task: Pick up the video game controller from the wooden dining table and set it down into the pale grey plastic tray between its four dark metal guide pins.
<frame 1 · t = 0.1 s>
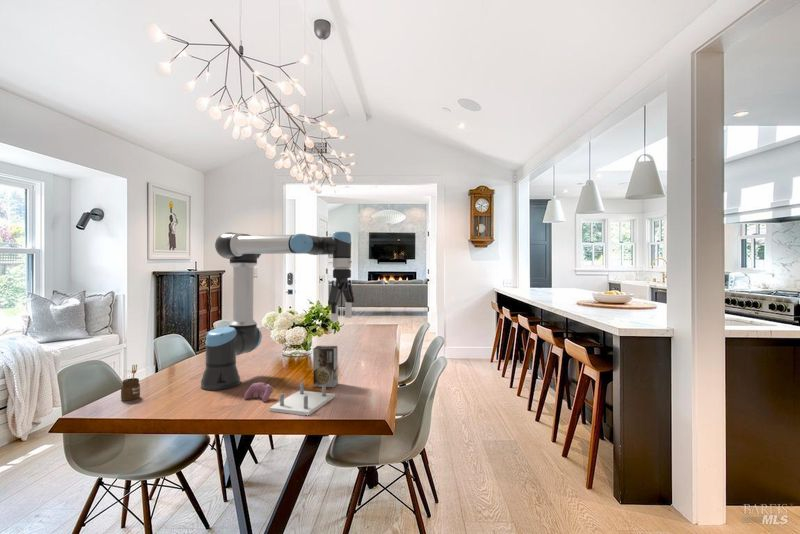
hand: (341, 319, 163), 28 cm above the table, tool pointing down, fingers open, 13 cm apart
utensil holder: (130, 398, 147), on the table
video game controller: (258, 399, 147), on the table
pin tray: (303, 403, 142), on the table
coffee box: (325, 385, 165), on the table
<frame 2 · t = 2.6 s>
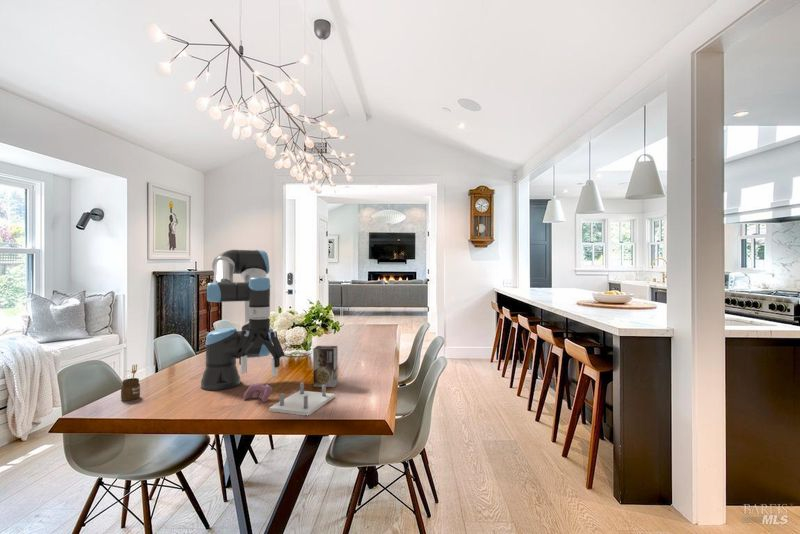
hand: (259, 374, 147), 9 cm above the table, tool pointing down, fingers open, 13 cm apart
nothing on the table moved.
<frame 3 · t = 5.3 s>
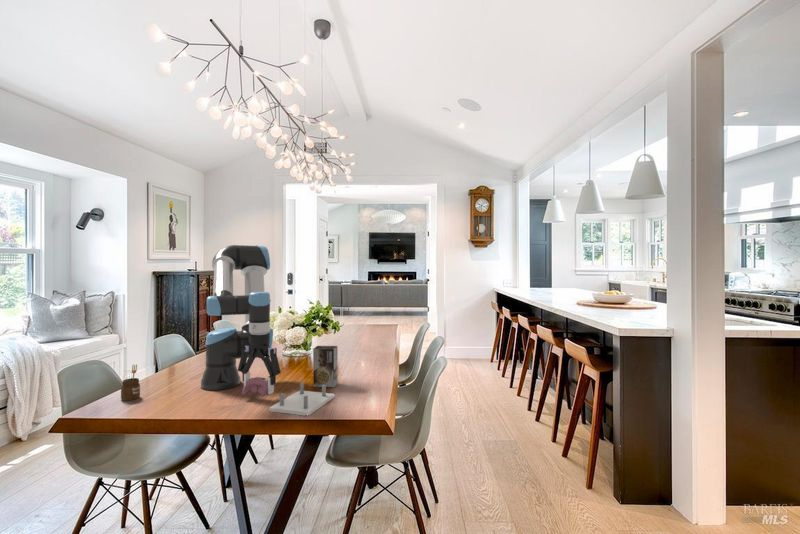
hand: (258, 391, 148), 2 cm above the table, tool pointing down, fingers closed on video game controller, 10 cm apart
video game controller: (256, 394, 147), point 2 cm above the table, touching gripper
everything else where it was.
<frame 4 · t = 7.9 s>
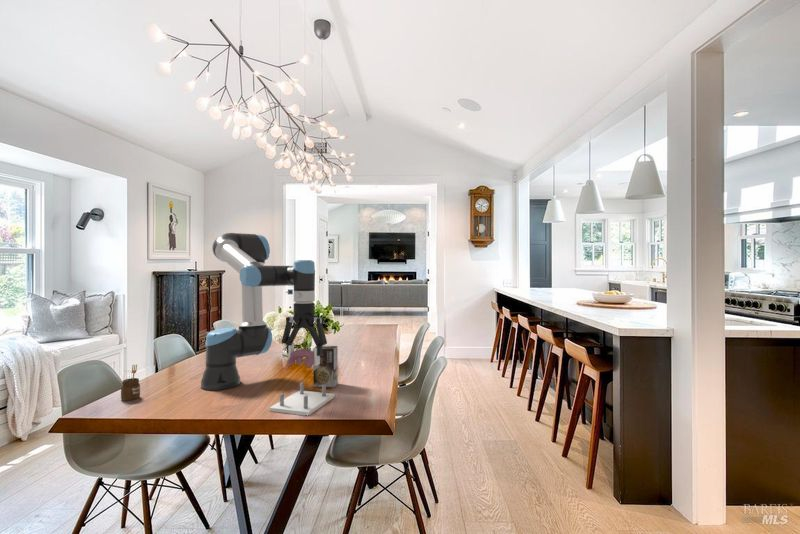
hand: (304, 363, 142), 15 cm above the table, tool pointing down, fingers closed on video game controller, 10 cm apart
video game controller: (302, 365, 141), point 14 cm above the table, touching gripper
everything else where it was.
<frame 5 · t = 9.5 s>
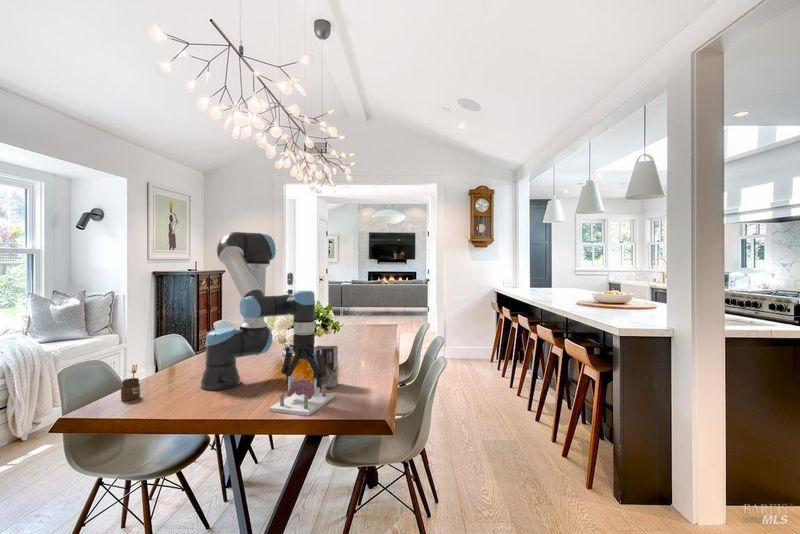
hand: (303, 394, 142), 3 cm above the table, tool pointing down, fingers closed on video game controller, 10 cm apart
video game controller: (302, 397, 141), point 3 cm above the table, touching gripper
everything else where it was.
when the fingers open (2 cm above the table, at t = 10.6 s): video game controller stays where it is, resting on pin tray.
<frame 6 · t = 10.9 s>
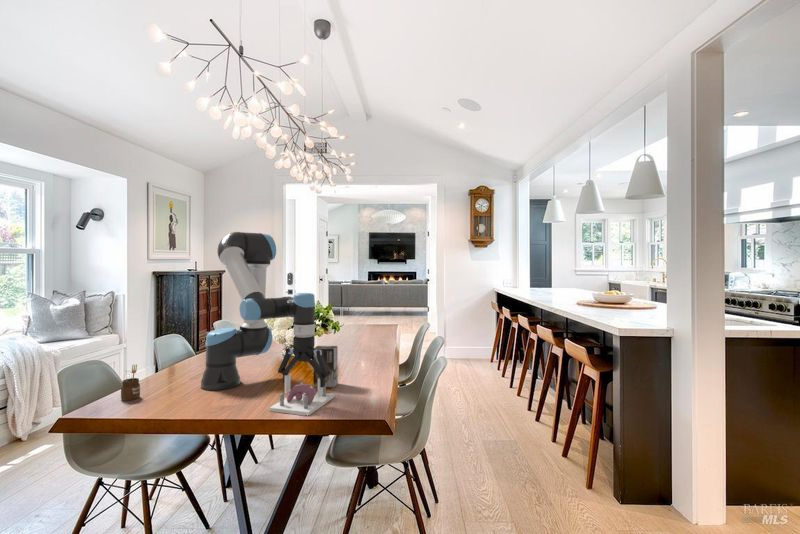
hand: (303, 394, 142), 3 cm above the table, tool pointing down, fingers open, 13 cm apart
video game controller: (301, 402, 141), point 1 cm above the table, touching pin tray
everything else where it was.
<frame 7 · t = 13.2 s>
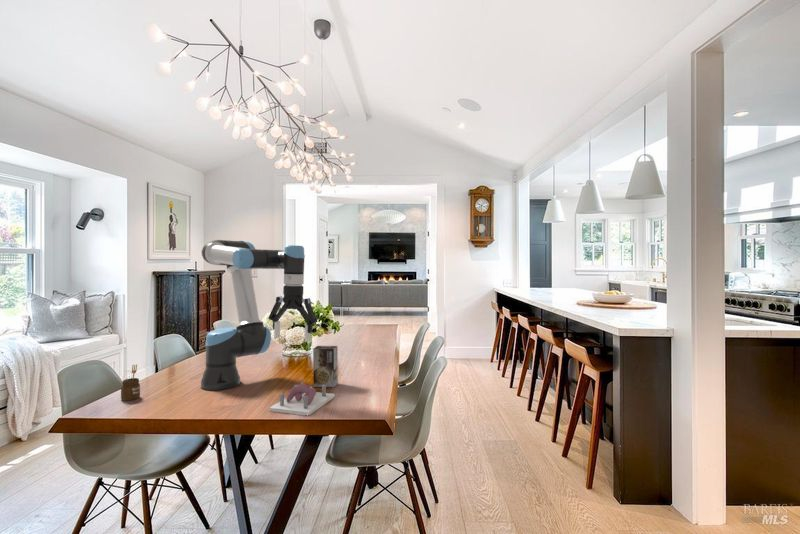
hand: (292, 339, 152), 21 cm above the table, tool pointing down, fingers open, 13 cm apart
nothing on the table moved.
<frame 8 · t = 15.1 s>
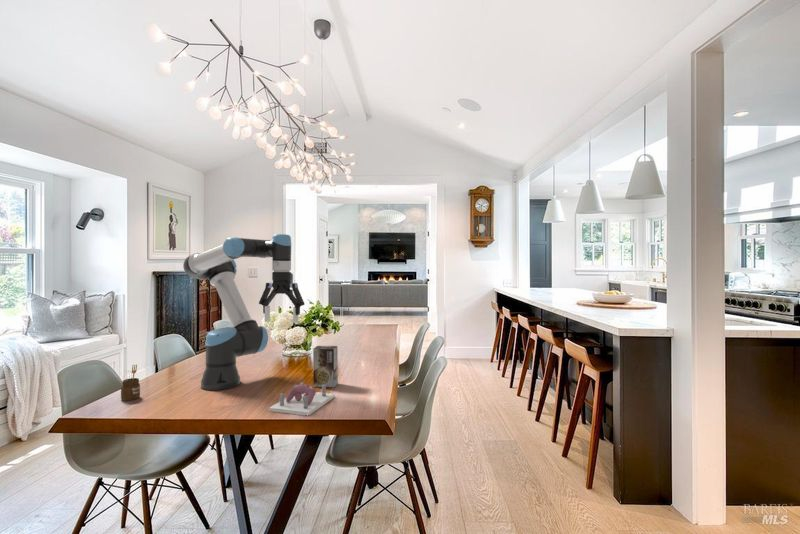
hand: (281, 322, 163), 27 cm above the table, tool pointing down, fingers open, 13 cm apart
nothing on the table moved.
at the end: video game controller 1.5 cm off-centre on the pin tray, point 1.0 cm above the pin tray's base; video game controller tilted 0°; the gripper is holding nothing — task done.
